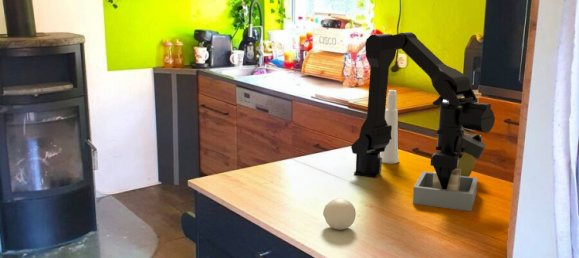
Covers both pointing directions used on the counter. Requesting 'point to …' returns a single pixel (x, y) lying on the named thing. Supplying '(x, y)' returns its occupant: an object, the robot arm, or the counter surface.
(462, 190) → the big crate
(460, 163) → the flower pot
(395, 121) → the cosmetic bottle
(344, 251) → the counter surface
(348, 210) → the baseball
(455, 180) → the small crate
